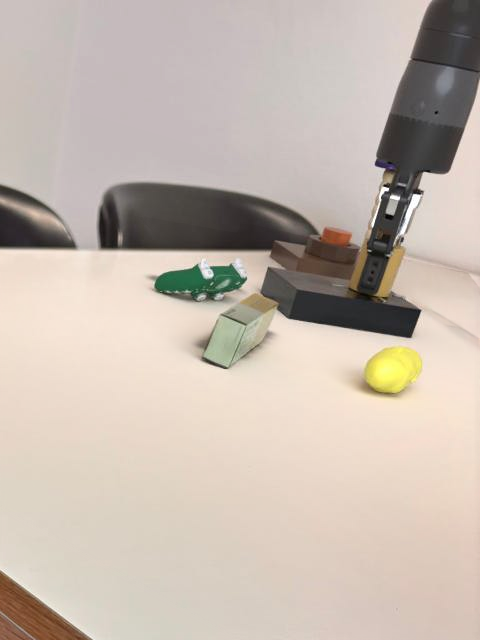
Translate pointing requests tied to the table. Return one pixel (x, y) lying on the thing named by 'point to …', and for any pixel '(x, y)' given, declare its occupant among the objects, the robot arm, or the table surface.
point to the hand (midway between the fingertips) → (369, 288)
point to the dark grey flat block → (338, 303)
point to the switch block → (317, 257)
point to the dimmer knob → (389, 273)
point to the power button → (336, 236)
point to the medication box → (239, 330)
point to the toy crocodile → (203, 280)
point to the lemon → (393, 369)
